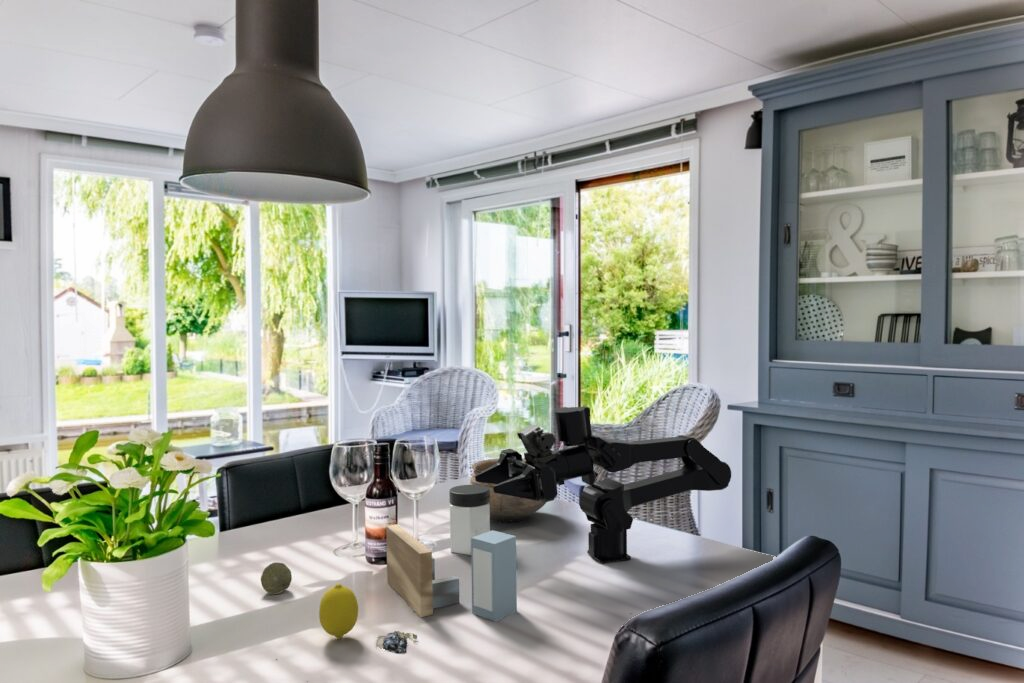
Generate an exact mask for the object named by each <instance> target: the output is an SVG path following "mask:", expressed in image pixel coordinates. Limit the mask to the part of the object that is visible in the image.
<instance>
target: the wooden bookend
mask: <svg viewBox="0 0 1024 683" xmlns="http://www.w3.org/2000/svg"><path fill="white" fill-rule="evenodd" d="M385 527H386V528H385V532H386V534H385V536H386V573H387V574H386V576H387V578H386V580H387V583H388V584H389V585H390V587H392V588H393V590H395V592H396V593H397V594H398V595H399V596H400V597H401V598H402V599H403V600H404V602H405V603H407V604H408V606H410V608H411V609H412V610H413V611H414V612H415V613H416V614H417V615H418V616H419V617H420V618H423V617H429V616H433V615H434V609H435V608H441V607H446V606H450V605H451V606H452V605H455V604H460V578H459V577H458V576H456V575H452V576H447V577H442V578H437V579H436V572H435V571H436V568H435V565H436V564H435V561H436V560H435V558H434V557H433V552H432V550H430V549H429V547H426V546H425V545H424V544H423V543H422V542H420V541H419V540H418V539H416V537H414V535H412V534H410V533H408V532H407V530H405V529H404V528H402V527H401V526H400V525H399V524H397V523H396V524H389V525H386V526H385Z"/></svg>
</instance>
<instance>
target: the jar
mask: <svg viewBox="0 0 1024 683" xmlns="http://www.w3.org/2000/svg"><path fill="white" fill-rule="evenodd" d="M448 494H449V528H450V529H449V530H450V533H449V534H450V538H449V539H450V545H449V546H450V552H451V553H454V554H460V555H461V554H462V555H467V556H471V538H472V537H475V536H478V535H480V534H483V533H486V532H489V531H491V525H490V524H491V522H490V521H491V520H490V519H491V516H490V505H489V502H490V489H489V488H488V487H486V486H482V485H469V484H461V485H457V486H453V487H451V488H450V489H449V491H448Z"/></svg>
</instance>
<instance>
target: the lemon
mask: <svg viewBox="0 0 1024 683" xmlns="http://www.w3.org/2000/svg"><path fill="white" fill-rule="evenodd" d="M318 615H319V622H320V623H319V624H320V626H321V627H322V630H324V631H325V633H327V634H328V635H330V636H334V637H335V638H336V639H342V638H343V637H344V635H347V634H348V633H349V632H351V631H352V630H353V629H354V627H355V626H356V624H357V621H358V617H359V605H358V600H357V597H356V594H355V593H354V591H353V590H352V589H350V588H349V587H348V586H345V585H342V584H341V583H337V584H335V586H331V587H330V588H329V589H327V590H326V591H325V593H324V594H323V595H322V597H321V600H320V603H319V611H318Z"/></svg>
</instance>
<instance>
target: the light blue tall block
mask: <svg viewBox="0 0 1024 683" xmlns="http://www.w3.org/2000/svg"><path fill="white" fill-rule="evenodd" d="M470 556H471V560H470V562H471V610H472V611H471V614H473V615H476V616H478V617H479V616H480V617H482V618H485V619H487V620H490V621H494V622H495V623H496V622H498V621H500V620H502V619H503V618H506V617H508V616H509V615H512V614H513V613H517V611H518V607H517V606H518V605H517V604H518V599H517V596H518V594H517V592H518V591H517V590H518V589H517V585H518V584H517V536H516V535H513V534H508V533H505V532H501V531H497V530H493V529H492V530H490V531H489V532H486V533H483V534H480V535H478V536H475V537H472V538H471V555H470Z"/></svg>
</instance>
